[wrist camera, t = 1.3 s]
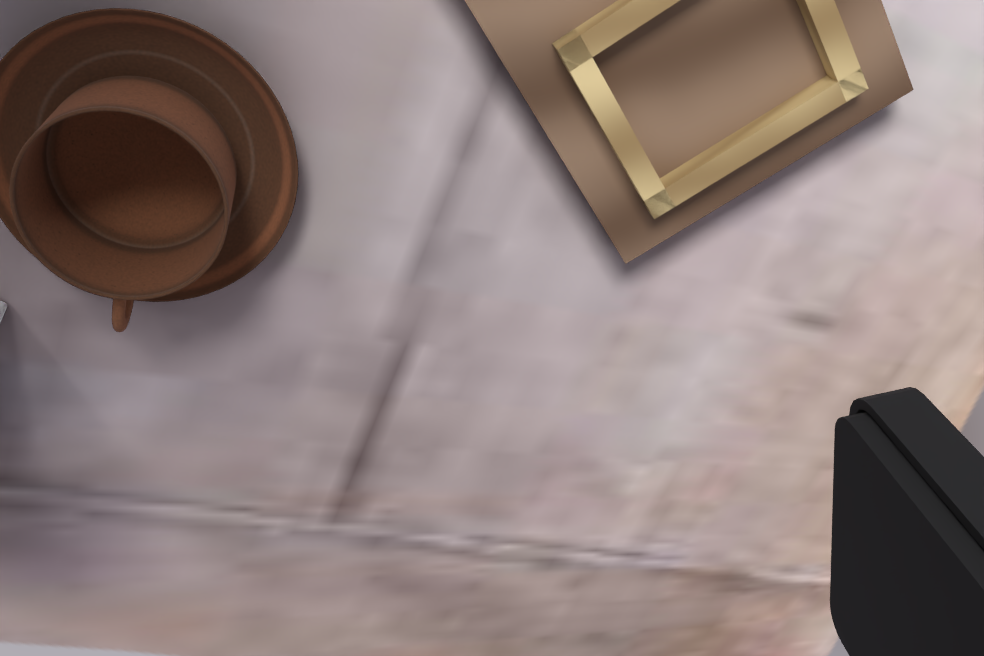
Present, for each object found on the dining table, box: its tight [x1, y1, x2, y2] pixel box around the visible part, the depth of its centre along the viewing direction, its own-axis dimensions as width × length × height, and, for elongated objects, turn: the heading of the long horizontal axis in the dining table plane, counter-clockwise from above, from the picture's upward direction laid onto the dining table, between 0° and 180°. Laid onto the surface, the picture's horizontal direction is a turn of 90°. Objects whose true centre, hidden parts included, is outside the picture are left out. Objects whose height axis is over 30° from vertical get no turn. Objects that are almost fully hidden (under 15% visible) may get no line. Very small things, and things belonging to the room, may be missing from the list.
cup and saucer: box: [0, 8, 298, 332], centre depth 36 cm, size 12×12×6 cm
